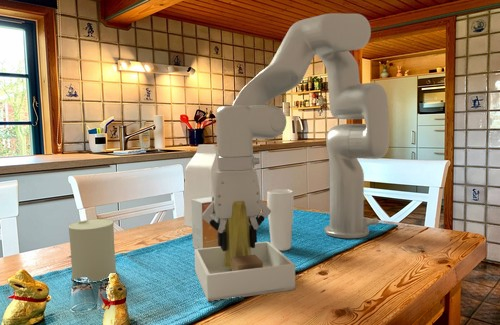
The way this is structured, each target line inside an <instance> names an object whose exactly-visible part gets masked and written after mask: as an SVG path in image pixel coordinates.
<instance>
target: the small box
mask: <svg viewBox="0 0 500 325" xmlns="http://www.w3.org/2000/svg"><path fill="white" fill-rule="evenodd" d="M191 202H192V227H191V234H192V247H193V248H194V249H202V248H211V247H219V246H218V231H217V230H216V229H215V228H213V227H212V226H211V225H210V224H209V223H207V222H206V221H205V220H204V219H203V218H202V217H201V215H202V214H203V212H204V211H205V210H206V209H207V208H208V206H209V205H210V204H211V203H212V197H206V198H200V199H192V200H191ZM210 217H211V218H212V219H214V220H215V221H216V222H217V221H218V218H217V217H216V216H215V215H214V214H213V213H212V214H211V215H210ZM224 230H225V228H224Z"/></svg>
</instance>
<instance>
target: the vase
mask: <svg viewBox="0 0 500 325" xmlns="http://www.w3.org/2000/svg"><path fill="white" fill-rule="evenodd" d="M249 225H250V224H249V217H247V215H246V206H245V201H238V202H233V205H232V217H231V218H230V219H227V222H226V225H225V232H226V243H227V250H226V251H225V257H224V265H225V266H226V267H228V268H231V269H232V262H231V257H238V256H247V255H251V243H250V227H249Z"/></svg>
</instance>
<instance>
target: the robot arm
mask: <svg viewBox="0 0 500 325" xmlns="http://www.w3.org/2000/svg"><path fill="white" fill-rule="evenodd" d="M371 32H372V29H371V25H370V22H369V20H368V19H367V18H366V17H365V16H364V15H362V14H360V13H339V12H337V13H325V14H321V15H317V16H312V17H308V18H304V19H301V20H298V21H296V22H294V23H293V24H292V25H291V26H290V27H289V29H288V31H287V33H286V34H285V36H284V37H283V39H282V41H281V44H280V45H279V47H278V48H277V51H276V53H275V54H274V56H273V58H272V59H271V61H270V63H269V64H268V65H267V66H266V67H265V68H264V69H261V71H260V72H258V74H256V76H254V77H253V78H252V79H251V80H250V81H249V82H248V83H247V84H245V86H244V87H243V88H242V89H241V90H240V91H239V93H238V94H237V95H236V98H235V100H234V101H233V103H232V105H223V106H220V107H218V108H217V110H216V111H215V112H216V114H215V115H216V116H215V120H216V122H215V123H216V147H217V159H218V171H214V175H213V182H212V203H211V204H210V205H209V206H208V208H207V209H206V210H205V211H204V212H203V214H202V215H201V217H202V218H203V219H204V220H205V221H206V222H207V223H209V224H210V225H211V226H212V227H213V228H215V229H216V230H217V231H218V246H219V247H221V249H222V250H223V251H226V250H227V243H226V232H225V230H224V228H225V225H226V222H227V219H230V218H231V217H232V205H233V202H238V201H245V206H246V215H247V217H249V227H250V243H251V248H255V243H258V229H259V226H261V224H263V222H264V221H265V219H267V217H268V215H269V214H270V213H271V210H270V209H269V208H268V207H267V204H265V203H264V201H263V200H262V199H261V188H260V183H259V182H260V181H259V177H258V172H257V170H256V169H254V168H255V166H256V165H259V164H260V163H261V162H260V161H261V160H260V158H259V157H255V155H254V147H253V146H254V145H253V140H255V139H256V140H272V139H275V138H277V137H279V136H281V135H282V133H284V131H285V129H286V127H287V117H286V114H285V113H284V111H283V109H281V108H280V107H278V106H276V105H273V104H267V103H269V102H270V101H271V100H273V99H275V98H277V97H278V96H280V95H283V94H285V93H288V92H289V91H291V90H292V89H294V88H296V87H297V86H298V85H300V84H301V83H302V82H303V79H304V78H305V75H306V73H307V71H308V69H309V67H310V65H311V63H312V61H313V60H314V57H315V56H316V55H317V57H318V58H319V59H320V60H321V61H322V63H323V64H324V67H325V70H326V73H327V84H328V85H327V86H328V87H327V88H328V100H329V102H328V103H329V110H330V114H331V115H332V117H333V118H335V119H338V120H364V123H343V124H336V125H334V126H333V127H331V128H330V129H329V130H328V132H327V133H326V137H325V138H326V140H325V144H326V150H327V154H328V161H329V225H326V226H325V227H324V233H325V235H328V236H330V237H334V238H338V239H339V238H340V239H361V238H364V237H365V238H366V237H367V236H369V234H370V229H369V228H368V227H370V226H377V225H379V222H380V221H379V218H377V217H373V218H369V217H365V216H364V209H365V208H364V202H365V200H364V192H365V191H364V190H365V189H364V185H365V184H364V180H365V174H364V173H365V172H364V170H363V167H362V165H361V163H360V162H359V160H358V159H364V160H365V159H368V160H371V159H372V160H377V159H381V158H384V156H386V155H387V153H388V150H389V147H390V114H389V111H390V110H389V98H388V94H387V92H386V90H385V88H384V87H383V86H382V85H381V84H379V83H376V82H367V83H361V82H360V81H361V80H360V70H359V64H358V62H357V60H356V58H355V56H353V54H352V53H351V52H350V51H356V50H361V49H363V48H364V47H366V45H367V44H368V43H369V41H370V39H371V34H372V33H371ZM212 213H213V214H214V215H215V216H216V217H217V218H218V221H217V222H216V221H215V220H214V219H212V218H211V217H210V215H211V214H212Z"/></svg>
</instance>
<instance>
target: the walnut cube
mask: <svg viewBox="0 0 500 325" xmlns="http://www.w3.org/2000/svg"><path fill="white" fill-rule="evenodd" d="M231 262H232V271H238V270H246V269H254V268H262V267H263V262H262V261H261V260H260V259H259V258H258V257H257V256H256V255H247V256H238V257H231Z"/></svg>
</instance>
